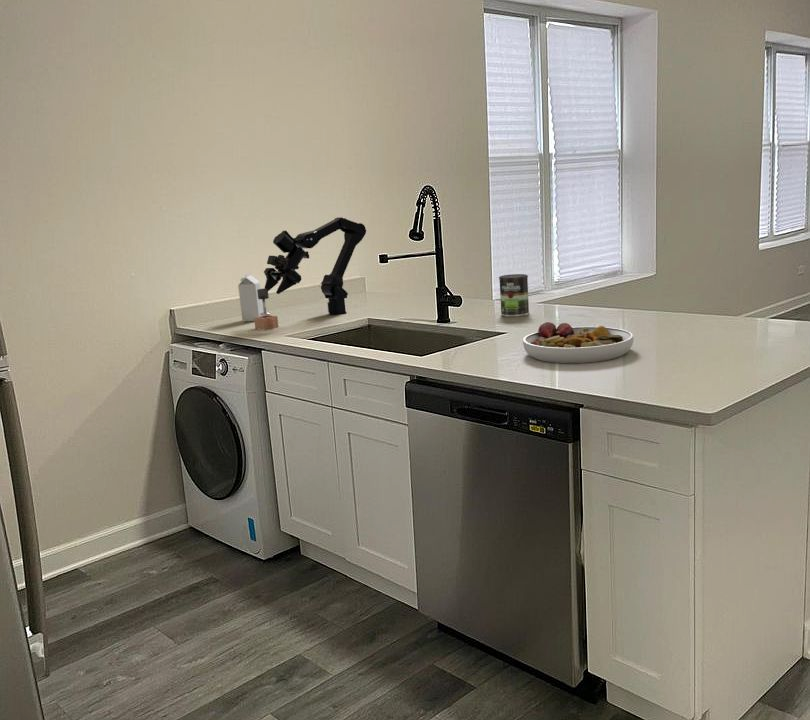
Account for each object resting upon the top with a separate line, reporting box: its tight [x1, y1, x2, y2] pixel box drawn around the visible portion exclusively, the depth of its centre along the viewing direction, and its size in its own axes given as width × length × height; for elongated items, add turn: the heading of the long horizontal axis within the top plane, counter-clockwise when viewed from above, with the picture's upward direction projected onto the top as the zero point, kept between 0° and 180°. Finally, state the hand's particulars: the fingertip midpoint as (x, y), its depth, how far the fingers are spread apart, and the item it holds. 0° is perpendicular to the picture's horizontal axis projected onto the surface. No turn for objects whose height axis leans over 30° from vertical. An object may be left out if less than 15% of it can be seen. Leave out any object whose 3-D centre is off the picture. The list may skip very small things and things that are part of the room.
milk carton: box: [237, 272, 265, 323], centre depth 341 cm, size 7×7×19 cm
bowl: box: [522, 321, 634, 364], centre depth 234 cm, size 30×30×8 cm
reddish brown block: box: [253, 314, 279, 330], centre depth 320 cm, size 6×9×4 cm
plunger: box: [257, 287, 271, 316], centre depth 319 cm, size 4×4×10 cm
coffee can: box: [498, 273, 530, 318], centre depth 304 cm, size 10×10×14 cm
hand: (270, 292), depth 321 cm, fingers open, 9 cm apart
